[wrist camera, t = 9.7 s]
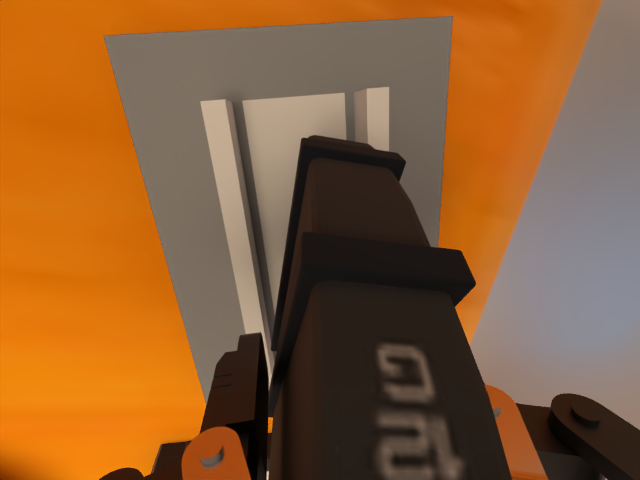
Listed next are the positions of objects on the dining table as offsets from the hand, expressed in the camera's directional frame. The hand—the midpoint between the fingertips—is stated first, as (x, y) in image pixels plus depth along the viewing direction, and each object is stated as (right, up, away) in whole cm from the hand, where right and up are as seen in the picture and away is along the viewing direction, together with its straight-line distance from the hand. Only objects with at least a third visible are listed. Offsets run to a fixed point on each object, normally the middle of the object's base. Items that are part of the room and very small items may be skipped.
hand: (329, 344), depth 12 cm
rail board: (-1, +4, +8) cm, 9 cm away
